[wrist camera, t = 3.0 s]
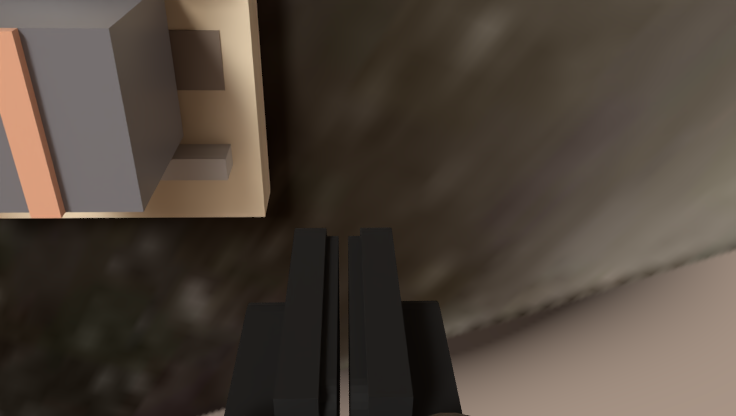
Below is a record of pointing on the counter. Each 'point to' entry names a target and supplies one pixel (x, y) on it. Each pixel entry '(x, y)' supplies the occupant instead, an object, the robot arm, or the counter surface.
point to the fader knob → (85, 105)
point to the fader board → (212, 116)
